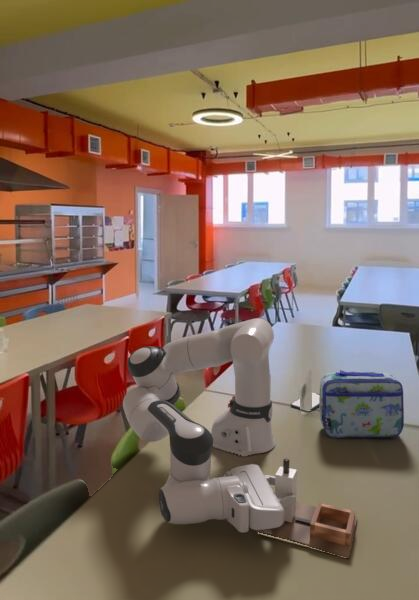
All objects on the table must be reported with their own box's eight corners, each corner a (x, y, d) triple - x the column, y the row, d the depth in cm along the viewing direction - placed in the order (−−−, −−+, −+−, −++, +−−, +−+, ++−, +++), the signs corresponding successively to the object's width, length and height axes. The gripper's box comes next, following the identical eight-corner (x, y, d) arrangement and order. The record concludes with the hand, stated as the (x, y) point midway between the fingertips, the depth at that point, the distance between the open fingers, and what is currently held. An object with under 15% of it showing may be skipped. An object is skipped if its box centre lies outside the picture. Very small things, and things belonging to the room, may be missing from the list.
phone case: (309, 414, 172) (331, 400, 184) (309, 410, 172) (331, 397, 183) (289, 408, 178) (311, 395, 189) (289, 404, 178) (311, 391, 189)
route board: (257, 534, 106) (257, 518, 105) (274, 500, 119) (274, 486, 118) (348, 559, 98) (349, 542, 98) (357, 520, 111) (357, 504, 110)
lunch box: (320, 439, 151) (322, 377, 148) (316, 425, 162) (318, 366, 158) (404, 442, 149) (408, 379, 145) (394, 427, 159) (398, 368, 155)
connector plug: (274, 518, 109) (275, 462, 107) (279, 508, 113) (280, 454, 111) (291, 522, 108) (292, 466, 105) (295, 512, 111) (297, 457, 109)
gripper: (221, 484, 117) (274, 478, 120) (243, 538, 98) (306, 529, 100) (221, 460, 116) (274, 455, 119) (243, 510, 97) (306, 502, 99)
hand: (289, 489), depth 109 cm, fingers closed on connector plug, 6 cm apart
